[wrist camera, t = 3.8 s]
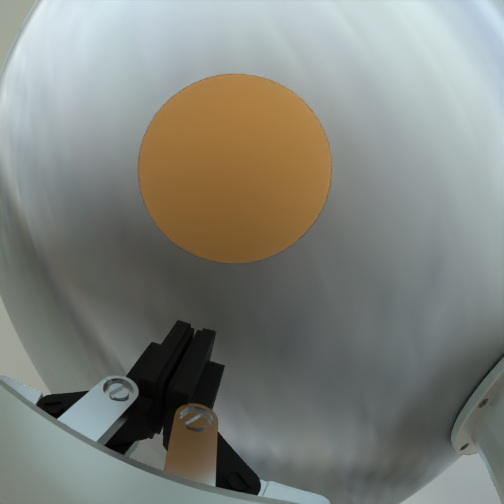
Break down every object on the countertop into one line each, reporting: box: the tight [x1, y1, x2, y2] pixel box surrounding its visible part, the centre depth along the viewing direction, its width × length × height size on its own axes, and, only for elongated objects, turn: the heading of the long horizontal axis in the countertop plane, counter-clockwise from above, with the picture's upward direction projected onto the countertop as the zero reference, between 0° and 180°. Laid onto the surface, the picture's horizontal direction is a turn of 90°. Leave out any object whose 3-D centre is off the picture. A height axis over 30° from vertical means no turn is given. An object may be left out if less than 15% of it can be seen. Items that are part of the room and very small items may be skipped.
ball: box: [138, 74, 332, 264], centre depth 8 cm, size 6×6×6 cm
